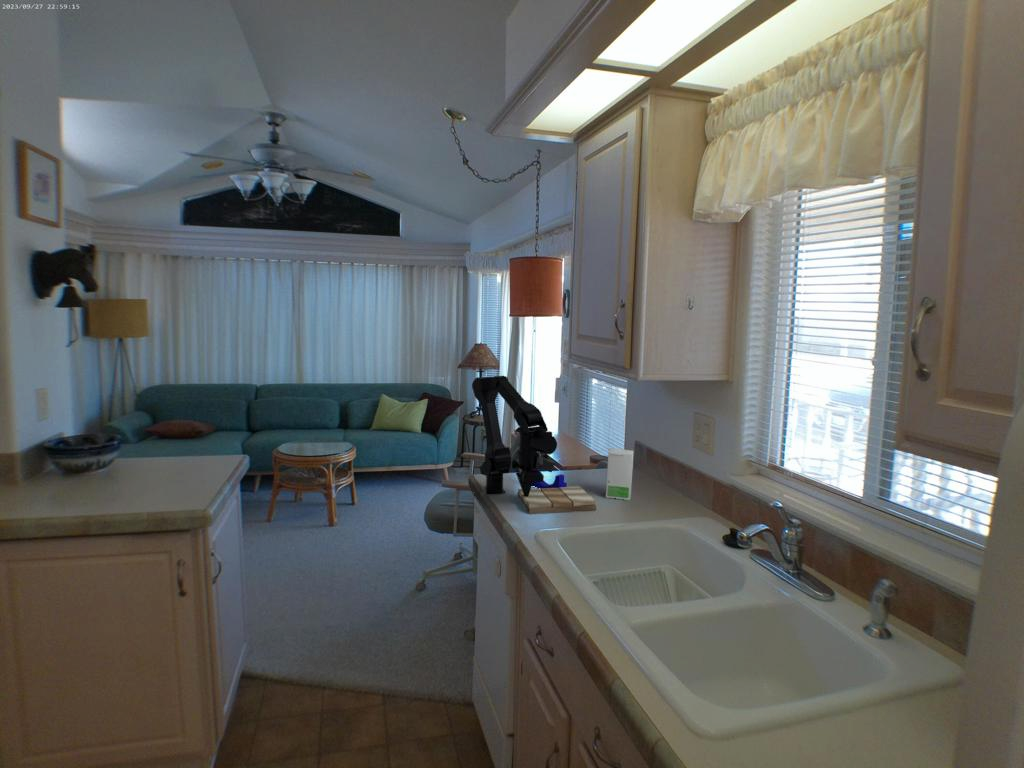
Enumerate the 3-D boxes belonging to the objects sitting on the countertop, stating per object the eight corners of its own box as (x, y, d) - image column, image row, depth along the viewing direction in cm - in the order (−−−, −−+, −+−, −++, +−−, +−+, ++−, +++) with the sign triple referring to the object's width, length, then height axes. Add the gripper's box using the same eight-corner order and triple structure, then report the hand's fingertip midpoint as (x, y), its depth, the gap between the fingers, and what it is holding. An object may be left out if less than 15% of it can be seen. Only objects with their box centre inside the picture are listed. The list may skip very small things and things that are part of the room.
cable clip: (566, 491, 207) (566, 474, 206) (558, 494, 204) (559, 476, 203) (539, 484, 215) (539, 468, 214) (531, 487, 212) (531, 470, 211)
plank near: (518, 492, 198) (518, 489, 198) (538, 491, 200) (538, 488, 200) (529, 507, 183) (529, 504, 183) (551, 507, 184) (551, 503, 184)
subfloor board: (517, 496, 199) (517, 492, 199) (578, 493, 204) (578, 489, 203) (529, 514, 182) (529, 509, 182) (596, 510, 186) (596, 506, 186)
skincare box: (605, 498, 199) (606, 452, 197) (606, 492, 205) (608, 447, 204) (631, 500, 197) (632, 453, 195) (632, 494, 203) (633, 449, 202)
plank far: (559, 491, 201) (559, 487, 201) (579, 489, 202) (579, 486, 202) (573, 505, 186) (573, 502, 185) (595, 504, 187) (595, 500, 187)
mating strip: (540, 492, 200) (540, 488, 200) (557, 491, 201) (557, 487, 201) (553, 507, 184) (553, 503, 184) (571, 506, 185) (572, 502, 185)
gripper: (561, 454, 181) (558, 505, 183) (545, 442, 200) (543, 488, 201) (525, 455, 179) (522, 506, 181) (512, 442, 197) (510, 488, 199)
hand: (526, 496), depth 191 cm, fingers closed, pressing on plank near
